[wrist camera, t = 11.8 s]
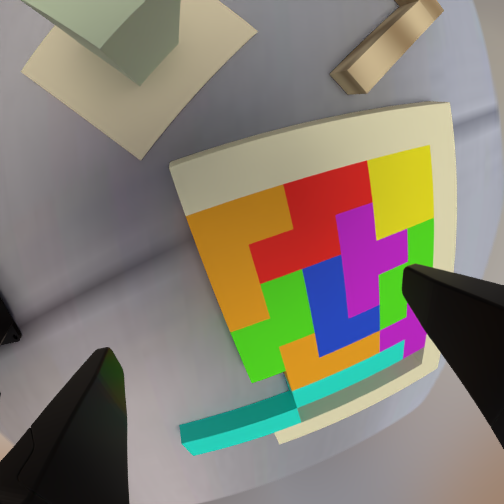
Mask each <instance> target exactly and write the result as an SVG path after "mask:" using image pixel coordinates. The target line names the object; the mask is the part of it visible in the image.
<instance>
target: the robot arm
mask: <svg viewBox="0 0 504 504" xmlns="http://www.w3.org/2000/svg"><path fill="white" fill-rule="evenodd" d="M402 294H403V297H404V298H405V300H406V301H407V303H408V305H409V306H410V308H411V309H412V311H413V313H414V314H415V316H416V318H417V319H418V321H419V322H420V324H421V326H422V327H423V329H424V330H425V332H426V333H427V335H428V336H429V338H430V339H431V340H432V342H433V343H434V344H435V346H436V347H437V348H438V350H439V351H440V352H441V354H442V355H443V357H444V358H445V359H446V361H447V362H448V364H449V365H450V366H451V368H452V369H453V371H454V372H455V373H456V375H457V376H458V378H459V379H460V380H461V382H462V384H463V385H464V386H465V388H466V389H467V391H468V392H469V394H470V395H471V397H472V399H473V400H474V401H475V403H476V405H477V406H478V408H479V409H480V411H481V412H482V414H483V415H484V417H485V419H486V420H487V422H488V423H489V425H490V426H491V428H492V430H493V432H494V434H495V435H496V437H497V438H498V440H499V442H500V443H501V445H502V447H503V449H504V285H500V284H496V283H492V282H489V281H485V280H481V279H477V278H473V277H469V276H465V275H461V274H457V273H453V272H449V271H445V270H441V269H437V268H433V267H428V266H424V265H420V264H412V265H409V266H406V267H405V268H404V270H403V278H402ZM15 335H16V336H15ZM20 338H21V333H20V331H19V330H18V328H17V326H16V325H15V323H14V321H13V319H12V318H11V316H10V314H9V312H8V311H7V309H6V307H5V305H4V303H3V301H2V299H1V297H0V345H3V344H8V343H13V342H18V341H19V340H20ZM0 395H1V393H0ZM0 504H129V489H128V464H127V410H126V398H125V385H124V373H123V369H122V367H121V365H120V363H119V362H118V360H117V358H116V356H115V355H114V353H113V351H112V350H111V349H110V348H109V347H105V348H100V349H97V350H95V352H94V353H93V354H92V355H91V356H90V357H89V358H88V359H87V361H86V362H85V363H84V364H83V365H82V366H81V367H80V368H79V370H78V371H77V372H76V373H75V374H74V375H73V376H72V378H71V379H70V380H69V381H68V382H67V383H66V385H65V386H64V387H63V388H62V389H61V390H60V392H59V393H58V394H57V395H56V396H55V397H54V399H53V400H52V401H51V402H50V403H49V405H48V406H47V407H46V408H45V409H44V411H43V412H42V413H41V414H40V415H39V417H38V418H37V419H36V420H35V421H34V423H33V424H32V425H31V428H29V429H28V430H27V431H26V433H25V434H24V435H23V436H22V437H21V439H20V440H19V441H18V442H17V443H16V445H15V446H14V447H13V448H12V449H11V450H10V452H9V453H8V454H7V455H6V456H5V457H4V458H3V459H2V460H1V462H0Z"/></svg>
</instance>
